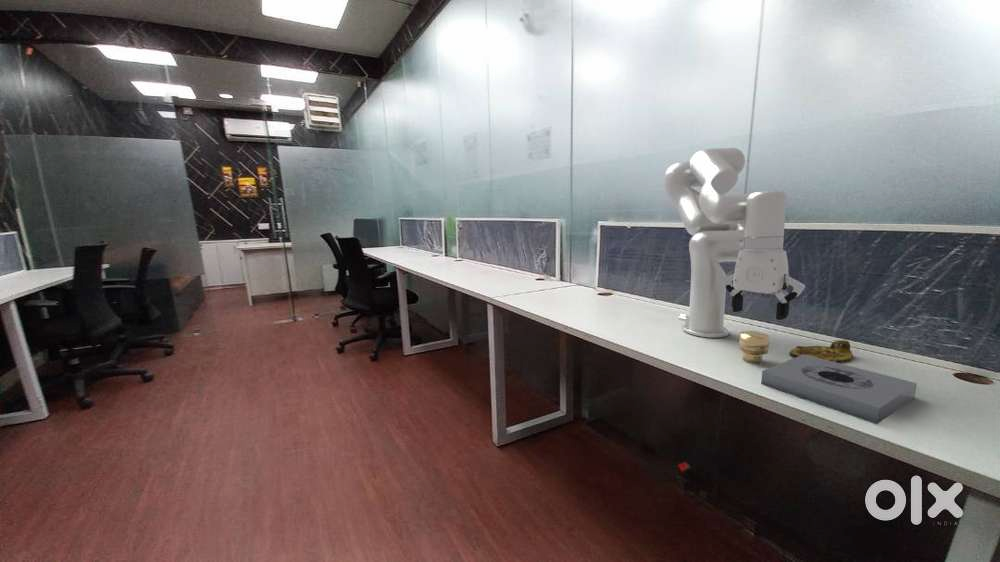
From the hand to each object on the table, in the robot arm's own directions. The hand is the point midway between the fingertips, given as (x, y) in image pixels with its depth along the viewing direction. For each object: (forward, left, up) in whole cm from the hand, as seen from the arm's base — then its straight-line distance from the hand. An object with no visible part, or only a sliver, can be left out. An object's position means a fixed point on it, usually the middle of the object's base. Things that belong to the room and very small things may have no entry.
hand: (758, 314), depth 86 cm
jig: (+16, -3, -12) cm, 20 cm away
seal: (+7, +17, -13) cm, 22 cm away
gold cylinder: (-1, 0, -12) cm, 12 cm away
